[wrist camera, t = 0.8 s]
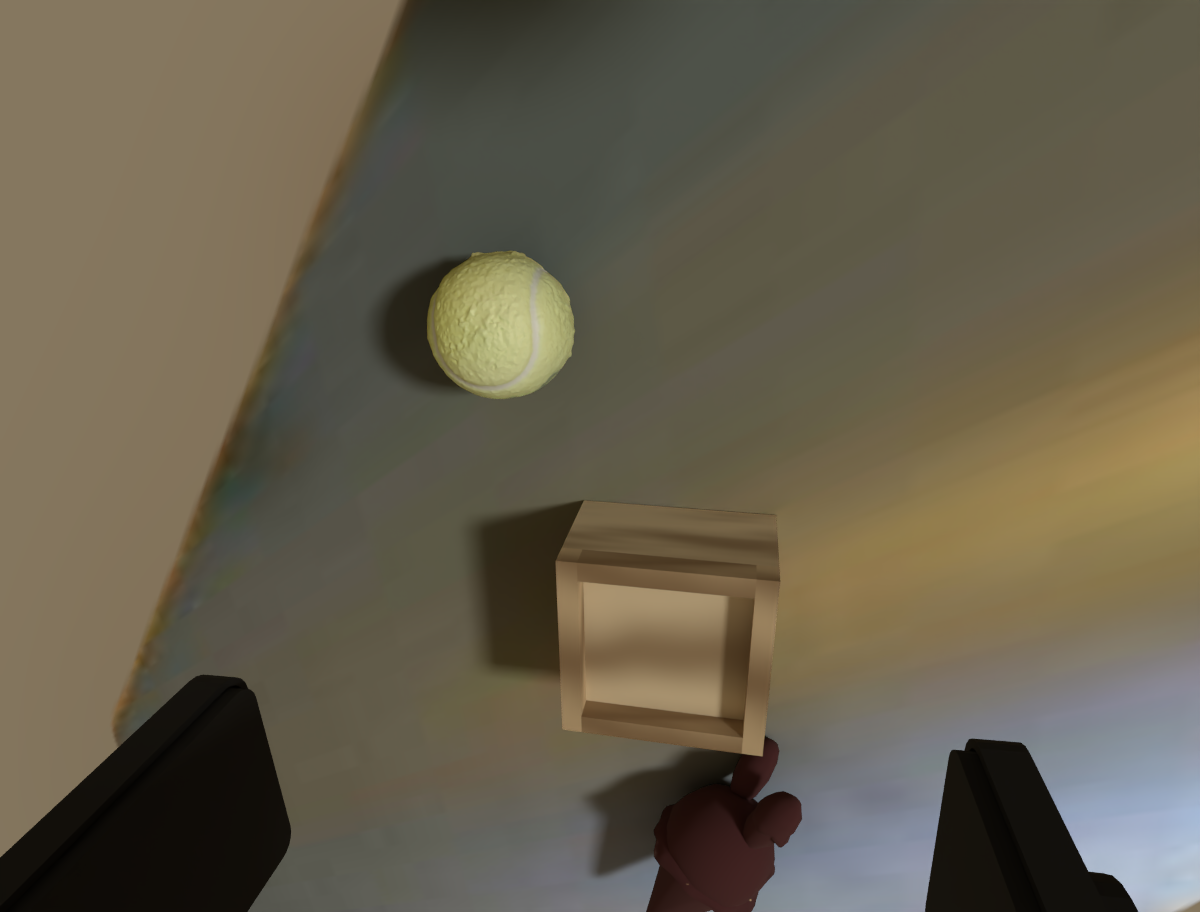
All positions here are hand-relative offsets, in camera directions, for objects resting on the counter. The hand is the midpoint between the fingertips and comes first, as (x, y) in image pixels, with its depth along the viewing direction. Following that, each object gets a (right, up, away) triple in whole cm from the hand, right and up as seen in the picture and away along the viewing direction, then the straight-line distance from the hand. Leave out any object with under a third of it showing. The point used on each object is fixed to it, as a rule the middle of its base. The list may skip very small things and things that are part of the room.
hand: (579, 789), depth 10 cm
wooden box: (+4, -3, +30) cm, 31 cm away
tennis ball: (-4, +12, +26) cm, 29 cm away
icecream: (+8, -17, +36) cm, 41 cm away
